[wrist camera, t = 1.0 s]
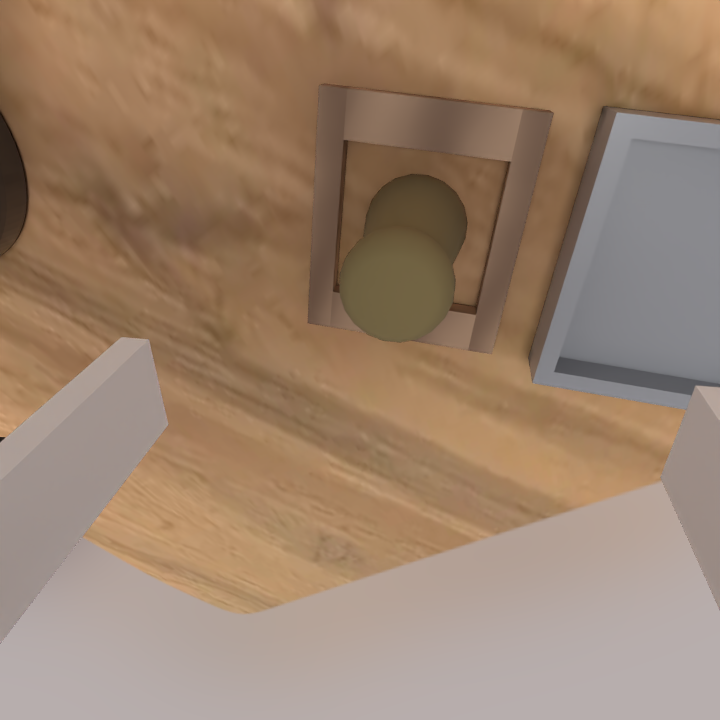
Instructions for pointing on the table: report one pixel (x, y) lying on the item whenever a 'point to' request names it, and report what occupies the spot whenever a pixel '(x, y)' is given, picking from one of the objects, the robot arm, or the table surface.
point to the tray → (639, 265)
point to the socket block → (438, 134)
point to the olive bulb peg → (405, 259)
